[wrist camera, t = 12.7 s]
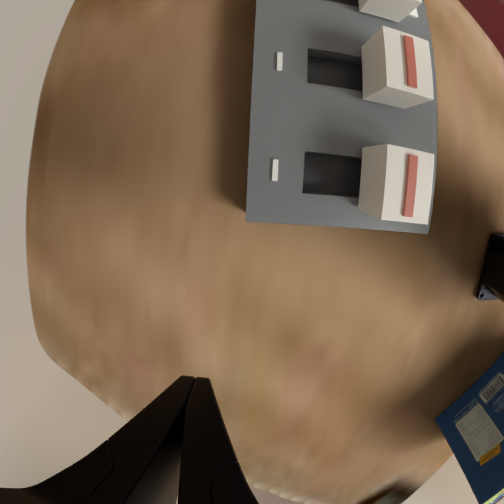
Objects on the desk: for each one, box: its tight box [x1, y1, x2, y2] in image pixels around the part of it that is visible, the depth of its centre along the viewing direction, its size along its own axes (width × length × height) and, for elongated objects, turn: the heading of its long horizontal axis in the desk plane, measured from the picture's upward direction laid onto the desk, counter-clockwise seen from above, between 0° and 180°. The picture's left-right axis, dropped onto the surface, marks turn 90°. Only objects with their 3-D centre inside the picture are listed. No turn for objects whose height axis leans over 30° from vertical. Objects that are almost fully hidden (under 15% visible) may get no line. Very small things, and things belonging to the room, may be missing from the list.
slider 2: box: [361, 26, 434, 109], centre depth 12 cm, size 3×4×5 cm
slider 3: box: [358, 144, 435, 225], centre depth 14 cm, size 3×4×5 cm
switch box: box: [246, 0, 438, 234], centre depth 15 cm, size 12×19×4 cm, turn 177°
